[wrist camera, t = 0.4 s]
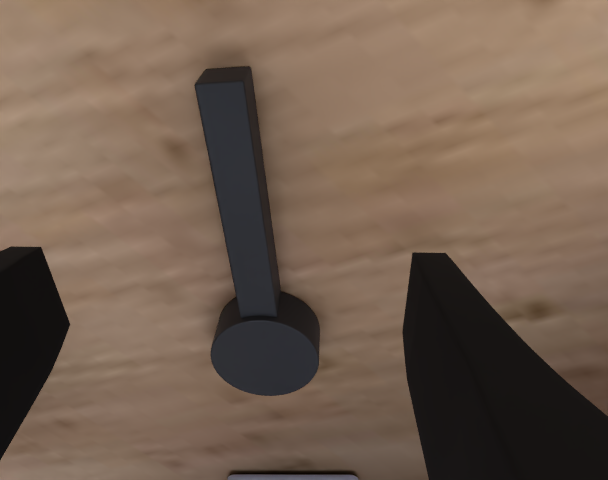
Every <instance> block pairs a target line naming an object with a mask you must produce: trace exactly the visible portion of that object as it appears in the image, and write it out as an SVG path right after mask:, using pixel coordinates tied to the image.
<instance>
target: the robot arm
mask: <svg viewBox="0 0 608 480" xmlns="http://www.w3.org/2000/svg"><path fill="white" fill-rule="evenodd" d="M69 326H70V323H69V320H68V317H67V315H66V312H65V309H64V307H63V304H62V301H61V299H60V296H59V293H58V291H57V288H56V285H55V283H54V280H53V277H52V275H51V272H50V269H49V267H48V264H47V261H46V259H45V256H44V253H43V251H42V248H41V247H9V248H7V249H5V250H3V251H0V460H1V458H2V456H3V455H4V453H5V451H6V449H7V448H8V446H9V444H10V443H11V441H12V439H13V437H14V436H15V434H16V432H17V430H18V429H19V427H20V425H21V424H22V422H23V420H24V418H25V417H26V415H27V413H28V412H29V410H30V408H31V406H32V405H33V403H34V401H35V399H36V398H37V396H38V394H39V392H40V391H41V389H42V387H43V385H44V383H45V382H46V380H47V378H48V376H49V374H50V373H51V371H52V369H53V366H54V364H55V362H56V359H57V357H58V355H59V352H60V350H61V347H62V345H63V342H64V339H65V337H66V334H67V331H68V329H69ZM403 343H404V354H405V364H406V373H407V381H408V386H409V391H410V395H411V400H412V404H413V409H414V414H415V418H416V423H417V427H418V432H419V436H420V441H421V445H422V450H423V454H424V459H425V463H426V468H427V472H428V477H429V480H608V416H607V415H605V414H604V413H603V412H602V411H601V410H599V409H598V408H597V407H596V406H595V405H593V404H592V403H591V402H590V401H589V400H587V399H586V398H585V397H584V396H583V395H581V394H580V393H579V392H578V391H577V390H575V389H574V388H573V387H572V386H571V385H570V384H569V383H567V382H566V381H565V380H564V379H563V378H562V377H561V376H560V375H558V374H557V373H556V372H555V371H554V370H553V369H552V368H551V367H550V366H549V365H548V364H547V363H546V362H545V361H544V360H543V359H542V358H540V357H539V356H538V355H537V354H536V353H535V352H534V351H533V350H532V349H531V348H530V347H529V346H528V345H527V344H526V343H525V342H524V341H523V340H522V339H521V338H520V337H519V336H518V335H517V334H516V332H515V331H514V330H513V329H512V328H511V327H510V326H509V325H508V324H507V323H506V322H505V321H504V320H503V319H502V317H501V316H500V315H499V314H498V313H497V312H496V311H495V310H494V309H493V308H492V307H491V305H490V304H489V303H488V302H487V301H486V300H485V299H484V297H483V296H482V295H481V294H480V293H479V292H478V290H477V289H476V288H475V287H474V286H473V285H472V283H471V282H470V281H469V280H468V279H467V278H466V276H465V275H464V274H463V273H462V272H461V270H460V269H459V268H458V267H457V266H456V264H455V263H454V262H453V261H452V260H451V258H450V257H449V256H448V255H447V254H446V253H413V254H412V262H411V270H410V277H409V285H408V293H407V301H406V309H405V316H404V324H403ZM227 480H358V478H357V477H356V476H354V475H266V474H234V475H230V476H228V478H227Z"/></svg>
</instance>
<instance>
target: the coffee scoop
mask: <svg viewBox="0 0 608 480" xmlns="http://www.w3.org/2000/svg"><path fill="white" fill-rule="evenodd" d="M195 90H196V95H197V100H198V105H199V110H200V116H201V121H202V126H203V131H204V136H205V141H206V146H207V151H208V156H209V161H210V166H211V171H212V176H213V181H214V186H215V191H216V196H217V201H218V206H219V211H220V216H221V221H222V226H223V232H224V237H225V242H226V247H227V252H228V257H229V262H230V267H231V272H232V277H233V282H234V287H235V292H236V298H234V299H233V300H232V301H230V302H229V303H228V304H227V305H226V306H225V308H224V309H223V311H222V313H221V315H220V318H219V322H218V325H217V329H216V333H215V336H214V340H213V344H212V348H211V360H212V364H213V366H214V368H215V370H216V371H217V373H218V374H219V375H220V376H221V377H222V378H223V379H224V380H225V381H226V382H227V383H229V384H230V385H232V386H233V387H235V388H237V389H240V390H242V391H245V392H248V393H251V394H256V395H264V396H275V395H283V394H287V393H291V392H294V391H296V390H298V389H300V388H302V387H304V386H305V385H306V384H308V383H309V382H310V381H311V380H312V378H313V377H314V375H315V374H316V372H317V369H318V365H319V340H320V327H319V322H318V319H317V317H316V316H315V314H314V312H313V311H312V310H311V309H310V308H309V307H308V306H307V305H306V304H305V303H304V302H302V301H301V300H299V299H298V298H296V297H294V296H292V295H289V294H286V293H283V292H281V289H280V281H279V274H278V266H277V259H276V251H275V244H274V236H273V229H272V221H271V214H270V206H269V199H268V191H267V184H266V176H265V169H264V161H263V154H262V146H261V139H260V131H259V124H258V116H257V109H256V101H255V94H254V86H253V79H252V71H251V67H249V66H247V67H232V68H217V69H206V70H205V71H204V72H203V74H202V75H201V76H200V78H199V79H198V80H197V82H196V83H195Z"/></svg>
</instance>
